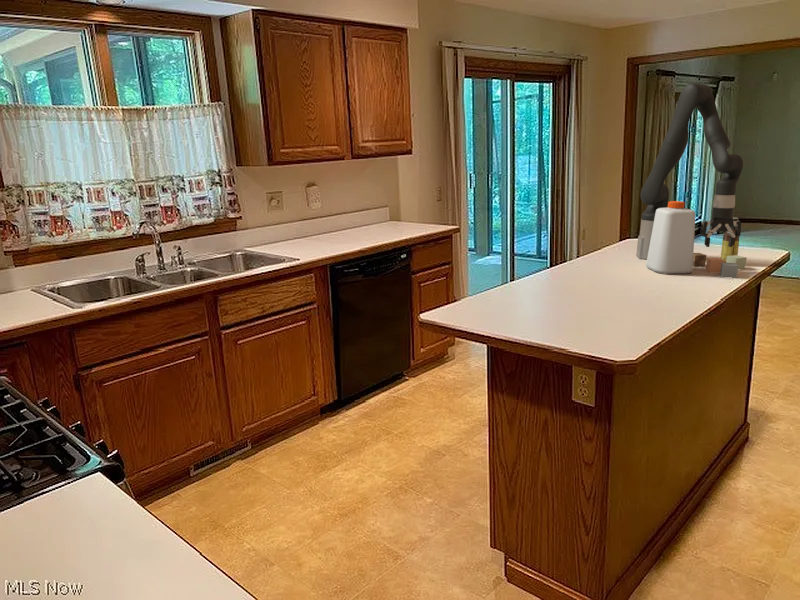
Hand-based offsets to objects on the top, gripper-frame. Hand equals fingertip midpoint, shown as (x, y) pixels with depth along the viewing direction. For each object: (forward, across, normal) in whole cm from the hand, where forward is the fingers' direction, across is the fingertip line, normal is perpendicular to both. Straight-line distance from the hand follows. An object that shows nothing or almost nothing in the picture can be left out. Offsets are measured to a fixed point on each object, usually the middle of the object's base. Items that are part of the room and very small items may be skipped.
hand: (718, 246), depth 237 cm
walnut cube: (+10, +4, -10) cm, 15 cm away
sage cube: (+10, -10, -6) cm, 15 cm away
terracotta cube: (+10, 0, 0) cm, 10 cm away
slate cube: (+10, -2, +9) cm, 14 cm away
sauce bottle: (+10, -10, -14) cm, 20 cm away
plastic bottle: (+10, +18, +1) cm, 21 cm away
